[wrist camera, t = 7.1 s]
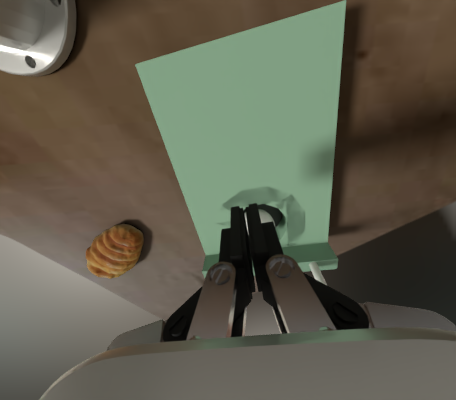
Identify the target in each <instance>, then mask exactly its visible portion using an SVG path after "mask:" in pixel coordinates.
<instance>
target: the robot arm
mask: <svg viewBox="0 0 456 400" xmlns="http://www.w3.org/2000/svg"><path fill="white" fill-rule="evenodd" d="M75 34H76V5H75V0H0V70H1V71H4V72H7V73H10V74H17V75H23V76H43V75H47V74H50V73H52V72H53V71H55V70H57V69H58V68H60V67H61V65H62V64H63V63H64V62H65V61H66V60H67V58H68V56H69V54H70V52H71V49H72V47H73V43H74V38H75ZM248 205H249V207H245V208H246V217H247V225H248V230H247V225H246V220H245V215H244V211H243V208H240V207H239V206H235V207H231V217H230V228H225V229H222V230H221V240H220V252H219V262H218V263H216V264H214V265H213V266H211V267H210V269H209V270H208V272H207V274H206V277H205V280H204V284H203V286H202V287H201V288H200V289H199V290H198V291H197V292H196V293H195V294H194V295H192V296H191V297H190V298H189V299H188V300H187V301H186V302H185V303H184V304H183V305H182V306H181V307H180V308H179V309H178V310H176V311H175V312H174V313H173V314H172V315H171V316H170V318H169V319H168V320H166V321H163V319H162V320H159V321H157V322H154V323H151V324H148V325H145V326H142V327H139V328H137V329H134V330H131V331H128V332H125V333H123V334H121V335H119V336H118V337H116V338H115V339H114V340H113V341H112V343H111V344H110V345H109V347H108V349H107V351H105V352H103V353H100V354H98V355H95V356H93V357H91V358H89V359H88V360H85V361H83V362H82V363H80V364H78V365H76V366H75V367H74V368H72V369H70V370H69V371H67V372H66V373H65V374H64V375H62V376H61V377H60V378H59V379H58V380H56V381H55V382H54V383H53V384H52V385H51V386H50V387H49V389H48V390H47V391H46V392H45V393H44V394H43V396H42V397H41V398H40V399H39V400H456V326H455V325H454V324H453V323H451V322H450V321H448V320H447V319H446V318H444V317H443V316H441V315H439V314H437V313H435V312H432V311H428V310H424V309H417V308H409V307H401V306H393V305H386V304H378V303H370V302H365V304H359V303H357V302H355V301H354V300H352V299H350V298H349V297H347V296H345V295H343V294H341V293H340V292H338V291H336V290H334V289H332V288H330V287H329V286H327V285H325V284H323V283H321V282H319V281H318V280H316V279H314V278H312V277H310V276H308V275H307V274H305V273H303V272H302V270H301V268H300V267H299V265H298V263H297V262H296V261H295V260H294V259H293V258H292V257H290V256H287V255H284V253H283V250H282V247H281V244H280V241H279V238H278V235H277V232H276V229H275V226H274V223H273V221H272V222H265V223H261V219H260V215H259V210H258V206H257V203H254V204H248ZM248 234H249V235H248ZM252 262H253V265H252ZM253 267H254V272H255V277H256V281H257V286H258V291H259V292H261V291H262V292H263V298H264V300H265V301H266V302H267V303H269V304H270V305H271V306H272V309H273V312H274V315H275V318H276V321H277V324H278V327H279V330H280V333H281V334H271V335H257V336H245V325H246V307H247V306H248V304H249V303H250V302H251V299H252V292H255V283H254V274H253Z"/></svg>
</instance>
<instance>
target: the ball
mask: <svg viewBox="0 0 456 400" xmlns="http://www.w3.org/2000/svg"><path fill="white" fill-rule="evenodd" d="M258 210H259V215H260V219H261V223H265V222H272V221H273V223H274V220H273V218H272V217H271V215H270V214H269V213H267V212H266V211H264V210H261V209H258ZM244 215H245V220H246V225H247V217H246V212H245V213H244ZM274 226H275V223H274ZM247 230H248V225H247ZM248 235H249V234H248Z"/></svg>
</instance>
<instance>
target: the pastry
mask: <svg viewBox="0 0 456 400" xmlns="http://www.w3.org/2000/svg"><path fill="white" fill-rule="evenodd" d="M143 241H144V238H143V233H142V232H141V231H140V230H138V229H136V228H135V227H133V226H130V225H127V224H120V225H115V226H113V227H112V228H110V229H107V230H105V231H104V232H103V233H102V234H100V235H98V236H96V237H95V239H94V240H93V243H92V245H91V246H90V247H89V248H88V249H87V250H86V259H87V267H88V269H89V271H91V273H93V274H95V275H96V276H98V277H107V278H110V279H111V278H115V277H119V276H120V275H122V274H124V273H125V272H126V271H128V270H130V269H131V268H133V267H134V266H135V264H136V262H137V261H138V259H139V256H140V253H141V249H142V245H143Z"/></svg>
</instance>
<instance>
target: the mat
mask: <svg viewBox="0 0 456 400" xmlns="http://www.w3.org/2000/svg"><path fill="white" fill-rule="evenodd" d="M345 10H346V0H345V1H342V2H338V3H335V4H332V5H328V6H325V7H322V8H319V9H315V10H312V11H309V12H305V13H302V14H299V15H296V16H292V17H289V18H286V19H282V20H279V21H276V22H273V23H269V24H266V25H263V26H259V27H256V28H253V29H250V30H246V31H243V32H240V33H237V34H233V35H230V36H227V37H223V38H220V39H217V40H214V41H210V42H207V43H204V44H200V45H197V46H194V47H191V48H187V49H184V50H181V51H177V52H174V53H171V54H168V55H164V56H161V57H158V58H154V59H151V60H148V61H145V62H141V63H138V64H135V65H136V68H137V71H138V74H139V76H140V79H141V82H142V84H143V87H144V90H145V92H146V95H147V98H148V101H149V103H150V106H151V109H152V111H153V114H154V117H155V119H156V122H157V125H158V128H159V130H160V133H161V136H162V138H163V141H164V144H165V146H166V149H167V152H168V155H169V157H170V160H171V163H172V165H173V168H174V171H175V173H176V176H177V179H178V182H179V184H180V187H181V190H182V192H183V195H184V198H185V200H186V203H187V206H188V209H189V211H190V214H191V217H192V219H193V222H194V225H195V227H196V230H197V233H198V236H199V238H200V241H201V244H202V246H203V249H204V252H205V254H206V257H205V261H204V266H203V270H202V272H203V275H204V277H206V274H207V272H208V270H209V269H210V267H211V266H213V265H214V264H216V263H218V262H219V252H220V240H221V230H222V229H225V228H230V217H231V207H235V206H239V207H240V208H243V211H244V213H245V212H246V208H245V207H249V205H248V204H254V203H257V206H258V209H261V210H264V211H266V212H267V213H269V214H270V215H271V217H272V218H273V220H274V223H275V229H276V232H277V235H278V238H279V241H280V244H281V247H282V250H283V253H284V255H287V256H290V257H292V258H293V259H294V260H295V261H296V262H297V263H298V265H299V267H300V268H301V270H302V272H304V271H311V269H310V266H309V264H310V263H311V262H316V263H317V265H318V267H319V269H320V270H327V269H337V264H338V258H337V257H336V255H335V253H334V252H333V250H332V249H331V247H330V245H329V244H328V232H329V219H330V206H331V193H332V180H333V167H334V154H335V141H336V127H337V114H338V101H339V88H340V75H341V62H342V49H343V36H344V23H345ZM282 215H283V217H282ZM281 217H282V219H281ZM280 220H281V221H280ZM277 225H278V226H277ZM276 226H277V227H276ZM252 265H253V262H252ZM253 274H254V276H255V272H254V267H253Z"/></svg>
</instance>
